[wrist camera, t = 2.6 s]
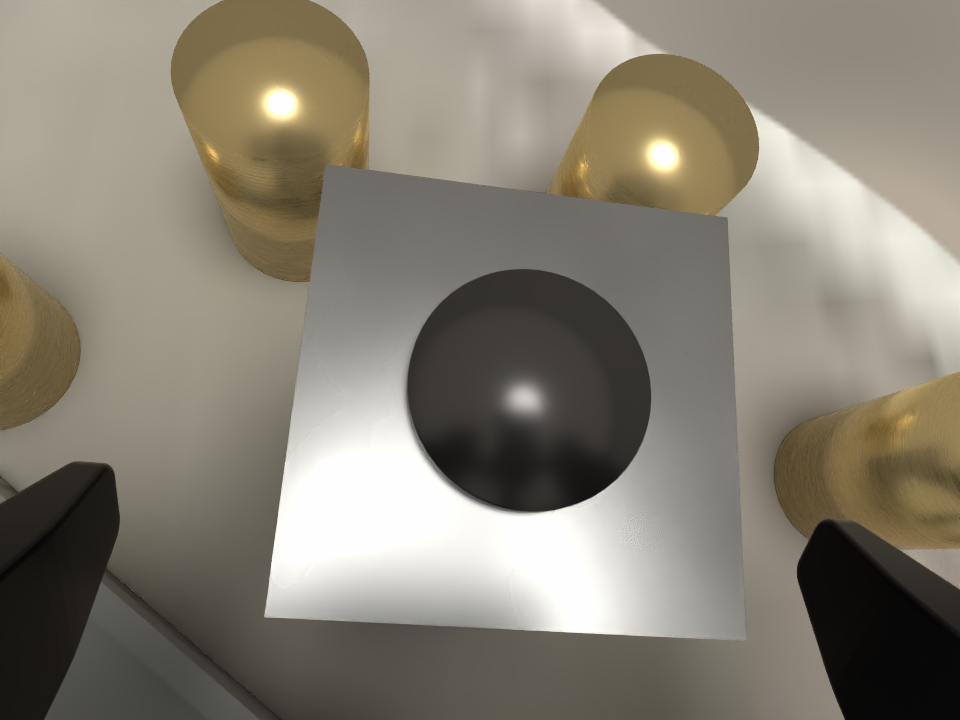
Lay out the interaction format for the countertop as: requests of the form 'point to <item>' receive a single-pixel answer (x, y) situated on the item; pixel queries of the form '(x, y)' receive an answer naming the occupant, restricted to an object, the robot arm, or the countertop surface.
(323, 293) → the pillar with dark dome
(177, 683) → the tray
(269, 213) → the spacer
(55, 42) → the countertop surface
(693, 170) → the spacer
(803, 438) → the cylinder
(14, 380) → the cylinder
